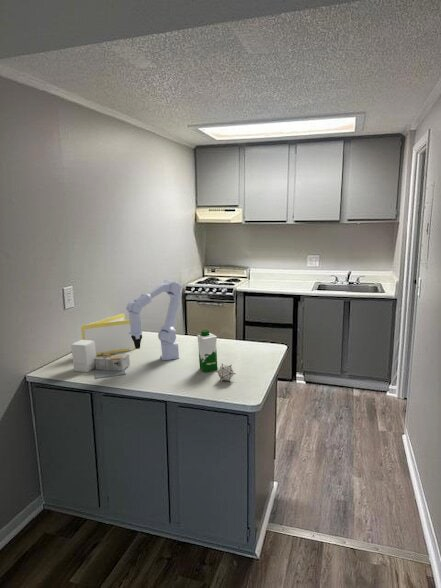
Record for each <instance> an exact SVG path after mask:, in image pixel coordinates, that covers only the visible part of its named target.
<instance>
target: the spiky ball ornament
mask: <svg viewBox="0 0 441 588" xmlns="http://www.w3.org/2000/svg"><path fill="white" fill-rule="evenodd" d="M232 366H233V365H232V364H230V365H227V364H223V363H221V366H220V367H219V369H218V370H215V373H217V375H218V376H219V378H220V379H219V381H220V382H221V381H227V382H229V383H231V382H230V380H232V378H233V376H234V375H236V373H235V372H234V370H233V368H232Z"/></svg>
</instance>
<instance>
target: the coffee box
mask: <svg viewBox="0 0 441 588" xmlns="http://www.w3.org/2000/svg"><path fill="white" fill-rule="evenodd" d="M94 361H95V362H94V363H95V368H94V370H113V371H123V370H124V369H125V370H126V369H127V368H128V367H129V366H130V365H131V363H130V361H131V360H130V354H129V353H128V354H127V353H109V354H107V353H102V354H100V355H97V356H96V358H95V359H94Z"/></svg>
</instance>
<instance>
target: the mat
mask: <svg viewBox="0 0 441 588" xmlns="http://www.w3.org/2000/svg"><path fill="white" fill-rule="evenodd" d="M94 370H95V369H94ZM94 373H95V374H94V375H95V376H94V379H96V380H97V379H103V378H109V377H110V378H111V377H118V376H125V375H126V368H125V369H124V370H123V371H113V370H95V371H94Z"/></svg>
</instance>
